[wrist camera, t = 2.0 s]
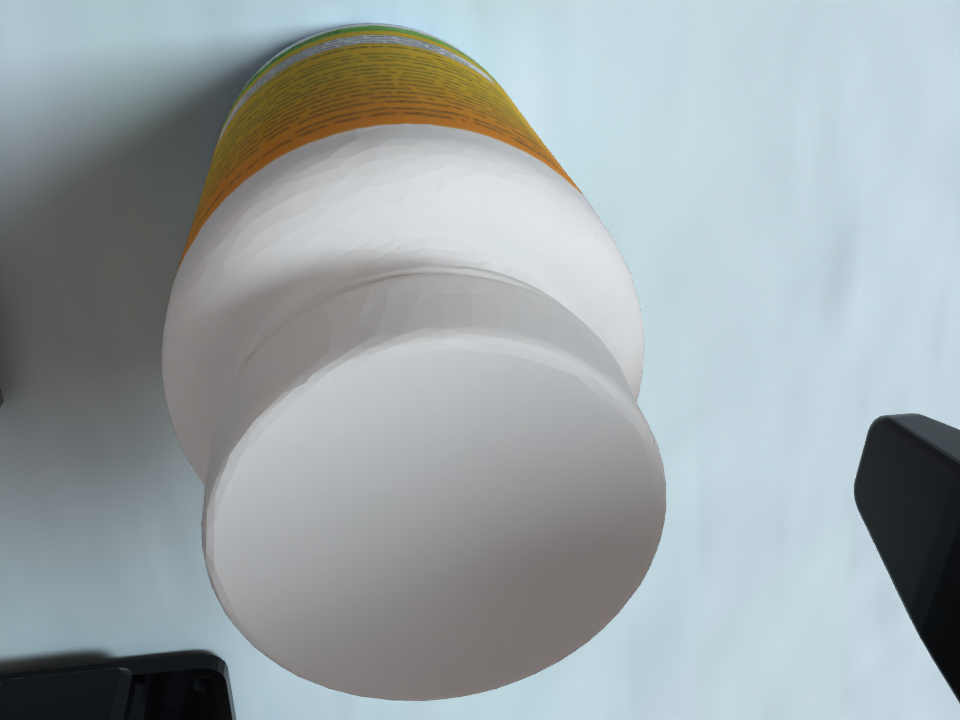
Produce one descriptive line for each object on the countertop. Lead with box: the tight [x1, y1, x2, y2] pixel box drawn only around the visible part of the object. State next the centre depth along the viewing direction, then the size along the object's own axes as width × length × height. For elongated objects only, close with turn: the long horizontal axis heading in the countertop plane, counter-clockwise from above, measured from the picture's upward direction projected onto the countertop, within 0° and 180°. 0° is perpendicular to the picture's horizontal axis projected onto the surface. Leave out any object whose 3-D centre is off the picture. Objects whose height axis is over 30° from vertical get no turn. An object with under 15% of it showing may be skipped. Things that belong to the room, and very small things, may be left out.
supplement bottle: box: [162, 23, 666, 701], centre depth 12 cm, size 5×5×10 cm
